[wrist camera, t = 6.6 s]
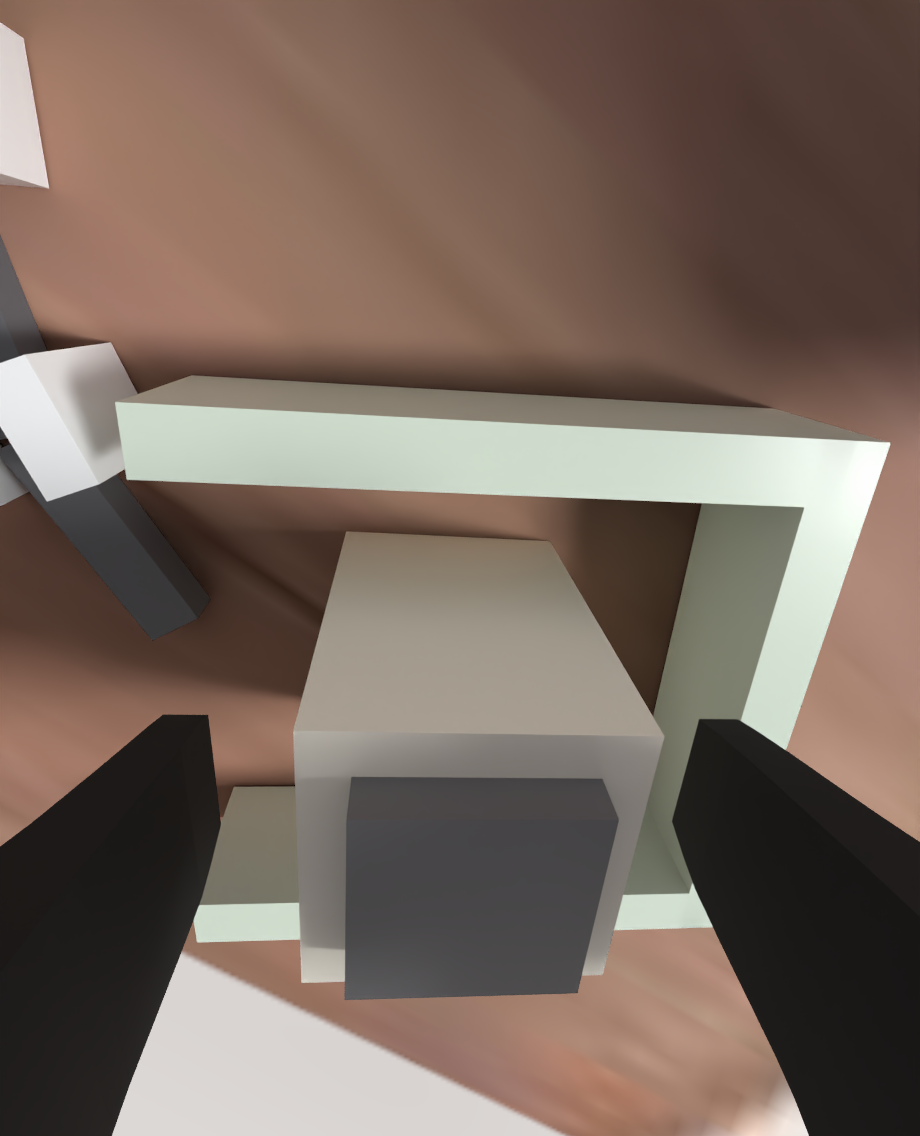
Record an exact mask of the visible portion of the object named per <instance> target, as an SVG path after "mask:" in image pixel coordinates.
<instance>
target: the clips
mask: <svg viewBox="0 0 920 1136" xmlns="http://www.w3.org/2000/svg"><path fill="white" fill-rule="evenodd" d="M0 184H1V185H13V186H25V187H37V188H48V189H49V185H48V179H47V173H46V167H45V161H44V155H43V149H42V144H41V138H40V132H39V126H38V120H37V114H36V108H35V103H34V97H33V91H32V85H31V79H30V73H29V67H28V62H27V56H26V50H25V44H24V38H22V37H21V36H19V35H18V34H16V33H15V32H13V31H12V30H11V29H9V28H8V27H6V26H5V25H3V24H2V23H0ZM134 395H137V392H136V390H135V388H134V386H133V384H132V382H131V380H130V378H129V376H128V374H127V373H126V371H125V369H124V367H123V365H122V363H121V361H120V359H119V357H118V355H117V353H116V351H115V349H114V347H113V345H112V344H111V342H110V343H103V344H96V345H89V346H81V347H74V348H67V349H60V350H53V351H46V352H39V353H32V354H25V355H22V356H19V357H16V358H13V359H10V360H8V361H5V362H2V363H0V427H1V429H2V430H3V432H4V433H5V435H6V437H7V438H8V440H9V442H10V443H11V445H12V446H13V448H14V450H15V451H16V453H17V454H18V456H19V458H20V459H21V461H22V462H23V464H24V466H25V467H26V469H27V470H28V472H29V474H30V475H31V477H32V478H33V480H34V482H35V483H36V485H37V487H38V488H39V490H40V491H41V493H42V495H43V496H44V498H45V499H46V501H47V502H48V501H51V500H54V499H57V498H60V497H63V496H66V495H68V494H71V493H74V492H77V491H80V490H83V489H86V488H89V487H92V486H95V485H98V484H101V483H102V482H104V481H106V480H107V479H109V478H111V477H112V476H114V475H116V474H117V473H119V472H121V471H122V470H124V469H125V465H124V459H123V452H122V445H121V439H120V432H119V426H118V419H117V413H116V406H115V402H116V401H119V400H122V399H125V398H128V397H131V396H134ZM1 448H2V446H1V444H0V449H1ZM28 492H29V490H28V489H27V488H26V487H25V486H24V484H23V483H22V482H21V481H20V480H19V478H18V477H17V476H16V475H15V473H14V472H13V471H12V470H11V469H10V467H9V466H8V465H7V464H6V463H5V461H4V460H3V459H2V458H1V457H0V506H2V505H4V504H6V503H8V502H10V501H12V500H14V499H16V498H18V497H20V496H22V495H24V494H26V493H28Z"/></svg>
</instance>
